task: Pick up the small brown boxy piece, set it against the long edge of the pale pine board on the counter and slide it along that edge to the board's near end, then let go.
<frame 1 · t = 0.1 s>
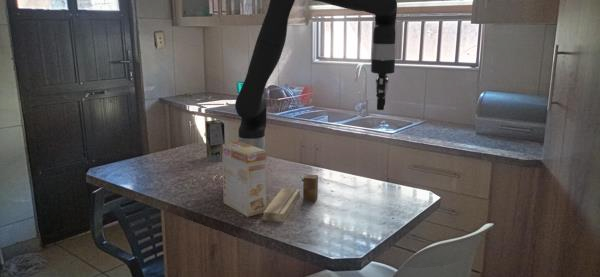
hand: (381, 107, 159), 29 cm above the counter, tool pointing down, fingers open, 8 cm apart
coffeecake box: (244, 208, 150), on the counter
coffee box: (216, 159, 205), on the counter
brown boxy piece: (310, 199, 157), on the counter
board: (282, 207, 150), on the counter
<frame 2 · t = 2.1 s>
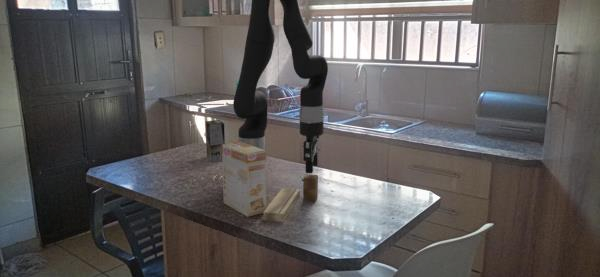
hand: (311, 169, 155), 10 cm above the counter, tool pointing down, fingers open, 8 cm apart
nothing on the counter moved.
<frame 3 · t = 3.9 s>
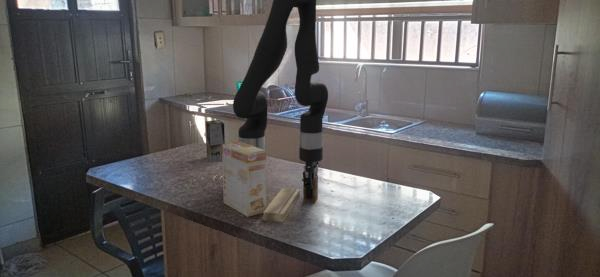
hand: (310, 196, 157), 1 cm above the counter, tool pointing down, fingers closed on brown boxy piece, 4 cm apart
brown boxy piece: (310, 199, 157), on the counter, touching gripper
everything else where it was.
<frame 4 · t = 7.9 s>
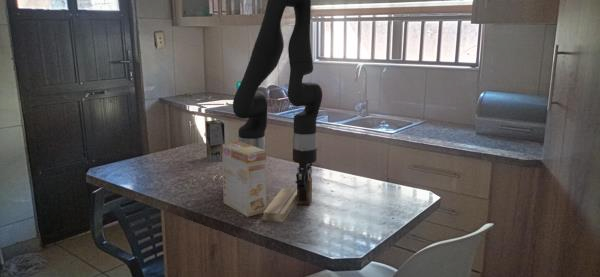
hand: (304, 198, 154), 2 cm above the counter, tool pointing down, fingers closed on brown boxy piece, 4 cm apart
brown boxy piece: (304, 202, 154), on the counter, touching gripper
everything else where it was.
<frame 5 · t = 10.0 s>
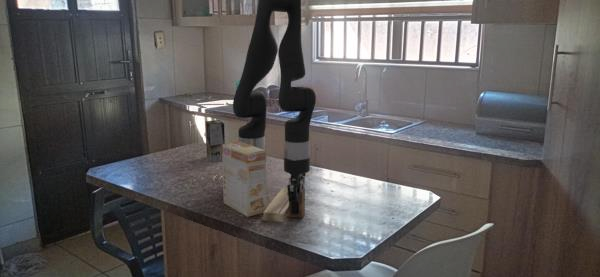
hand: (296, 210, 143), 2 cm above the counter, tool pointing down, fingers closed on brown boxy piece, 4 cm apart
brown boxy piece: (296, 214, 143), on the counter, touching gripper
everything else where it was.
when the fingers open (2 cm above the counter, at t = 11.7 s): brown boxy piece stays where it is, on the counter.
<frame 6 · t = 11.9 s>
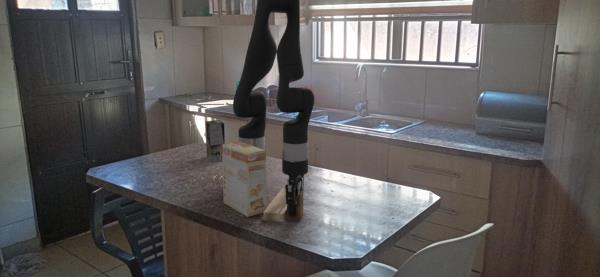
hand: (295, 211, 142), 2 cm above the counter, tool pointing down, fingers open, 6 cm apart
brown boxy piece: (295, 217, 142), on the counter
everything else where it was.
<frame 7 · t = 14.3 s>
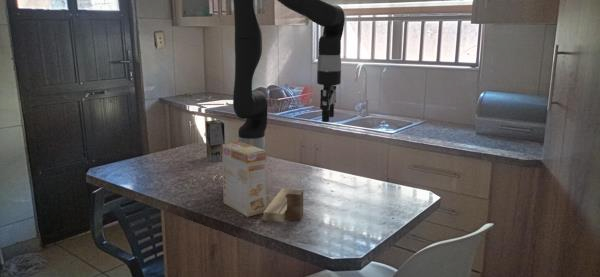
hand: (327, 119, 156), 26 cm above the counter, tool pointing down, fingers open, 8 cm apart
nothing on the counter moved.
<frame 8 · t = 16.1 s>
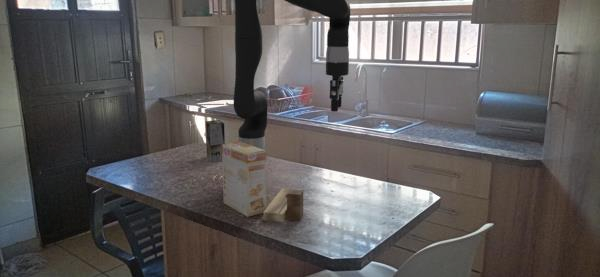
hand: (336, 109, 162), 28 cm above the counter, tool pointing down, fingers open, 8 cm apart
nothing on the counter moved.
at the end: brown boxy piece 0.8 cm from the target spot on the counter beside the board, on the counter; brown boxy piece tilted 0°; brown boxy piece moved 16.0 cm from its start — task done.
